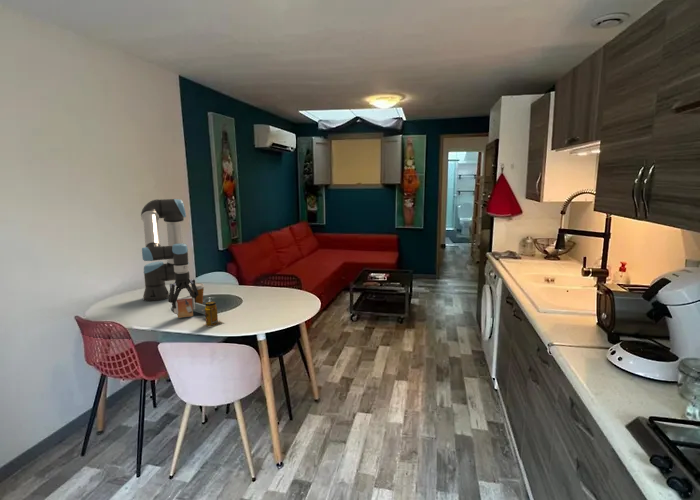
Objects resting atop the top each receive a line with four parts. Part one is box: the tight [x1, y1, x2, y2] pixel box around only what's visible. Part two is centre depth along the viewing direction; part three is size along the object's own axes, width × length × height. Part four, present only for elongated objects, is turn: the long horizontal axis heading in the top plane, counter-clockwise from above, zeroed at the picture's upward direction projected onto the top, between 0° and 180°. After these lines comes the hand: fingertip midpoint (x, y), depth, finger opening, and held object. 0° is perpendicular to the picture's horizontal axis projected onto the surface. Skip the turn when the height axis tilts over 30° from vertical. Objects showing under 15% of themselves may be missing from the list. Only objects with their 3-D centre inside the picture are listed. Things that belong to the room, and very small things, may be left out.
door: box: [193, 303, 206, 315], centre depth 220 cm, size 21×2×6 cm, turn 55°
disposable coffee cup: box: [189, 282, 205, 304], centre depth 237 cm, size 10×10×12 cm
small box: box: [176, 295, 194, 319], centre depth 212 cm, size 8×6×10 cm
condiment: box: [202, 301, 224, 328], centre depth 202 cm, size 7×8×12 cm
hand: (184, 311), depth 213 cm, fingers closed on small box, 9 cm apart
